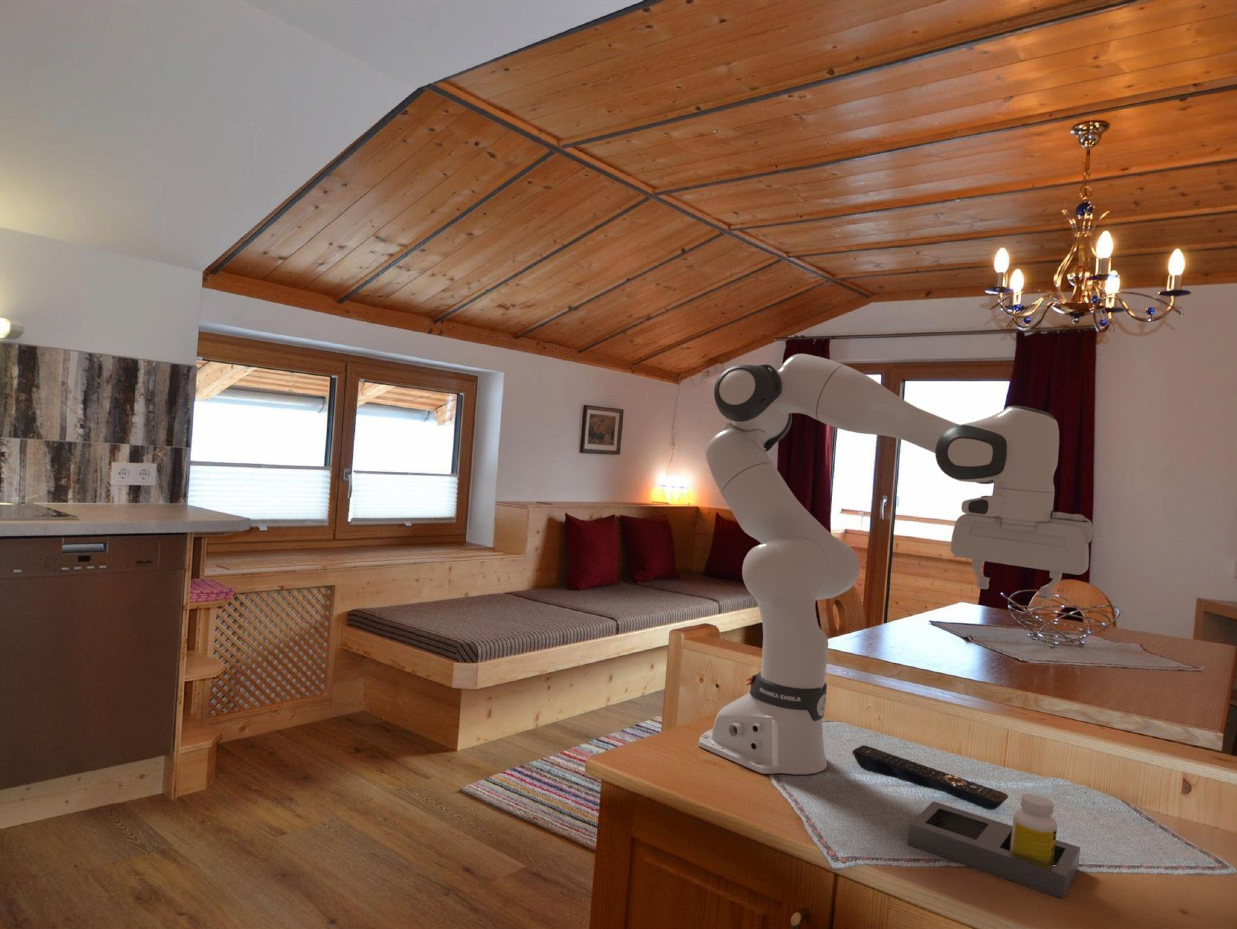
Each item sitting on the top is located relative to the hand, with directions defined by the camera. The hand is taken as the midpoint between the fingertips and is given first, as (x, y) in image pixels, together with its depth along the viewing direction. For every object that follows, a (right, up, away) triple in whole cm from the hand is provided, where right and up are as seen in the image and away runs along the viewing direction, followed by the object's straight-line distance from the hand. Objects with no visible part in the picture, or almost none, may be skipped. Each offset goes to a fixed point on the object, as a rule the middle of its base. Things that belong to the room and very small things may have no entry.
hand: (1013, 593), depth 141 cm
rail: (-11, -34, -18) cm, 40 cm away
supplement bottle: (-7, -35, -21) cm, 42 cm away
